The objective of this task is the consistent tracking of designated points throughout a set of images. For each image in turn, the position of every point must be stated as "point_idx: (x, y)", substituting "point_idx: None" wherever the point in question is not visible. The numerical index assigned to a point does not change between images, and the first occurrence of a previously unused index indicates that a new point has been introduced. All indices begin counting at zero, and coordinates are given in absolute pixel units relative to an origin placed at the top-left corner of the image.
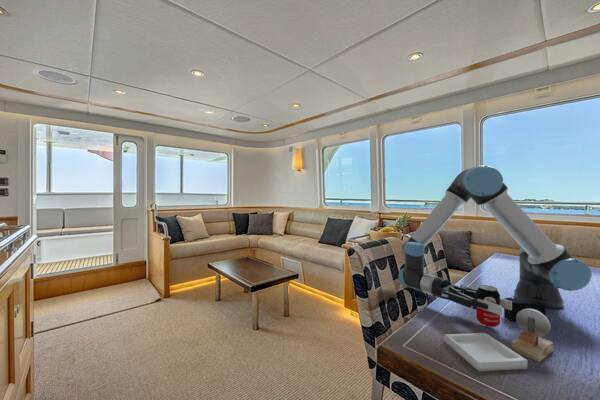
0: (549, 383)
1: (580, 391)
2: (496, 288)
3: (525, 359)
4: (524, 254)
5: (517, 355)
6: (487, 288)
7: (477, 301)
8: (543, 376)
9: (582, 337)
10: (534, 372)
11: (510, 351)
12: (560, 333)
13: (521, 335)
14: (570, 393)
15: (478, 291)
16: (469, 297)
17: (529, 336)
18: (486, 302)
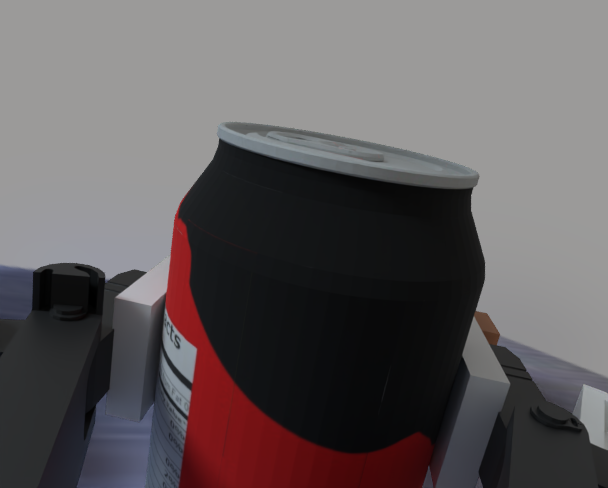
0: (569, 382)
1: (506, 342)
2: (277, 130)
3: (588, 387)
4: None
5: (596, 405)
6: (384, 159)
7: (509, 410)
8: (549, 389)
9: (16, 282)
10: (561, 405)
11: (602, 423)
12: (13, 318)
13: (496, 338)
14: (550, 356)
15: (470, 263)
16: (569, 479)
17: (482, 315)
18: (477, 328)
